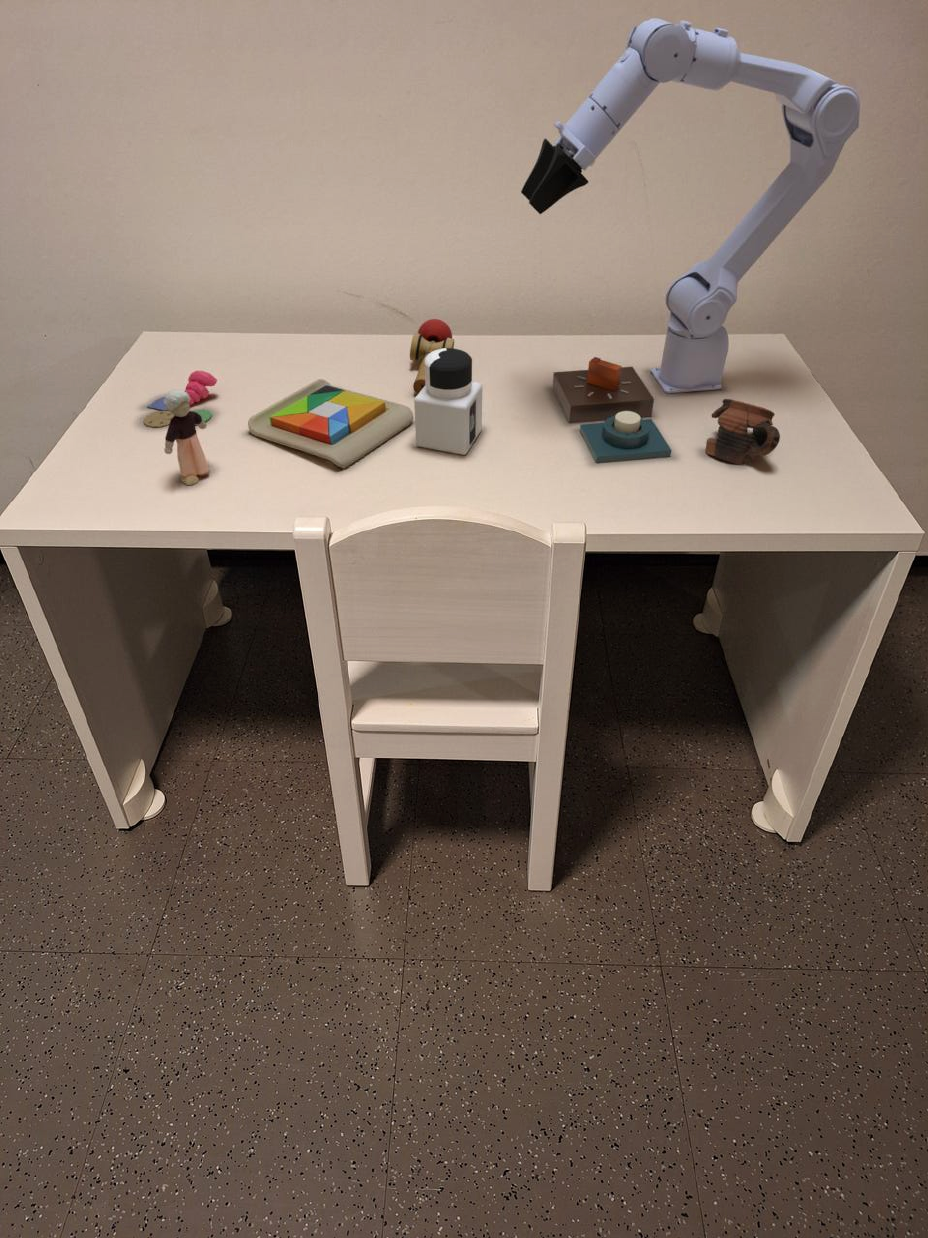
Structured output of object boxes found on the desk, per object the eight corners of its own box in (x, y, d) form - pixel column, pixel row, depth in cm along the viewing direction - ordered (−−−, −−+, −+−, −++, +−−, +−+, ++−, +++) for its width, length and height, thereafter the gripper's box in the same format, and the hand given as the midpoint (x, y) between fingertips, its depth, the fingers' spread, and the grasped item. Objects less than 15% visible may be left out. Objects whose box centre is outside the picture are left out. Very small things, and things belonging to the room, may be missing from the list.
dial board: (629, 383, 132) (632, 365, 130) (651, 416, 125) (654, 398, 122) (552, 389, 131) (553, 370, 129) (568, 423, 123) (570, 404, 121)
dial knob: (619, 387, 125) (622, 364, 123) (613, 391, 124) (617, 368, 122) (591, 378, 127) (594, 355, 125) (586, 382, 126) (589, 359, 124)
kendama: (452, 403, 130) (462, 340, 141) (443, 369, 125) (455, 307, 137) (405, 408, 132) (419, 345, 143) (395, 375, 127) (411, 313, 138)
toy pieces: (166, 388, 131) (159, 362, 128) (230, 394, 130) (225, 368, 127) (129, 424, 123) (121, 398, 120) (198, 432, 121) (191, 405, 118)
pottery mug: (685, 448, 119) (705, 392, 116) (726, 460, 124) (746, 407, 122) (748, 467, 109) (771, 406, 107) (790, 480, 115) (813, 422, 112)
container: (482, 430, 122) (483, 346, 113) (465, 456, 116) (465, 371, 108) (434, 421, 124) (431, 339, 115) (415, 446, 118) (411, 362, 109)
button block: (650, 425, 123) (653, 407, 121) (670, 457, 116) (674, 438, 114) (579, 431, 121) (581, 413, 119) (595, 463, 115) (598, 445, 113)
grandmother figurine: (196, 491, 110) (172, 406, 101) (170, 486, 111) (145, 401, 102) (223, 461, 115) (203, 378, 107) (199, 457, 116) (177, 374, 108)
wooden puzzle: (325, 387, 132) (322, 366, 129) (417, 421, 124) (416, 400, 121) (245, 432, 121) (241, 411, 119) (340, 473, 113) (337, 451, 111)
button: (634, 420, 118) (636, 409, 117) (642, 433, 116) (644, 422, 115) (610, 422, 118) (612, 411, 117) (617, 435, 115) (619, 424, 114)
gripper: (571, 84, 108) (502, 172, 114) (594, 94, 97) (515, 190, 102) (607, 125, 111) (538, 208, 117) (633, 139, 100) (554, 230, 105)
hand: (530, 202), depth 110 cm, fingers open, 7 cm apart
